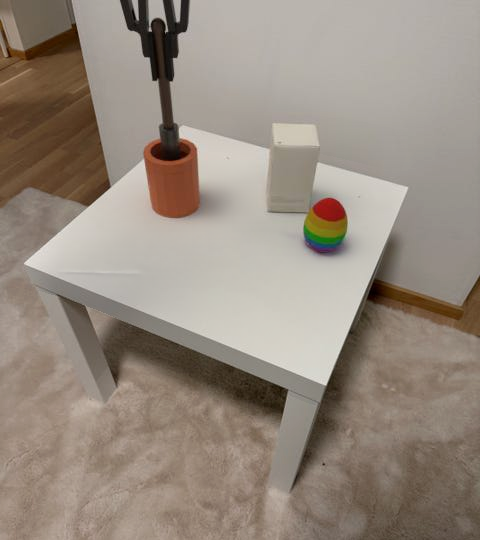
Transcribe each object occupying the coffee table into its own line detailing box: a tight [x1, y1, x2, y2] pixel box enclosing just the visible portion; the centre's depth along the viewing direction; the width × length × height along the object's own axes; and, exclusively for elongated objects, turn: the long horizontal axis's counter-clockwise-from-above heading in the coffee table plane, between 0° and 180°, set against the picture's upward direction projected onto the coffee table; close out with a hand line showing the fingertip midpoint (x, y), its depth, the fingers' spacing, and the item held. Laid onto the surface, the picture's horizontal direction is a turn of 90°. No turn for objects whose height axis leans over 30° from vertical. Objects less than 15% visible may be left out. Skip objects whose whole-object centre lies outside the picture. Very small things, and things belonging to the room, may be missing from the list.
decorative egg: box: [302, 197, 349, 253], centre depth 83 cm, size 8×8×10 cm
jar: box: [142, 137, 201, 219], centre depth 90 cm, size 10×10×12 cm
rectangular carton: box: [266, 122, 321, 214], centre depth 90 cm, size 9×9×15 cm
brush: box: [150, 17, 181, 161], centre depth 77 cm, size 4×4×23 cm
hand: (163, 77), depth 75 cm, fingers closed on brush, 2 cm apart
